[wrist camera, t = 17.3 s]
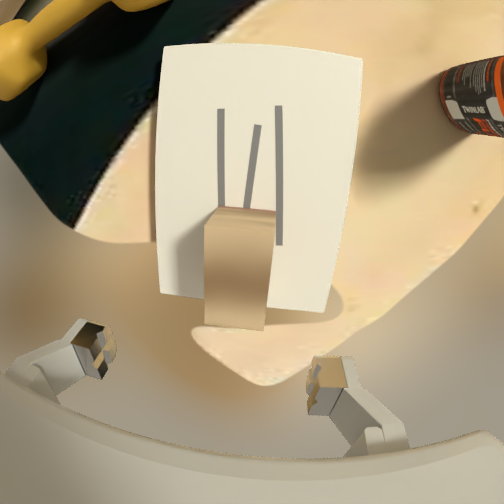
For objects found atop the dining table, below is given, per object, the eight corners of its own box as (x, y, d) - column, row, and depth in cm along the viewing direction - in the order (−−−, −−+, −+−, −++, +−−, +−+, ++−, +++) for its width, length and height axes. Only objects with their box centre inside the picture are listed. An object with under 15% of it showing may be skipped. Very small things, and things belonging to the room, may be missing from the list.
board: (171, 51, 17) (164, 46, 16) (357, 63, 16) (363, 59, 15) (166, 284, 25) (160, 293, 24) (321, 302, 24) (323, 312, 23)
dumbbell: (29, 105, 19) (-30, 111, 11) (24, 41, 16) (-28, 35, 8) (194, 13, 16) (155, -34, 8) (176, -51, 12) (143, -96, 5)
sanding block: (219, 205, 20) (204, 225, 16) (275, 211, 20) (275, 232, 16) (217, 290, 23) (204, 323, 19) (266, 295, 23) (263, 331, 19)
